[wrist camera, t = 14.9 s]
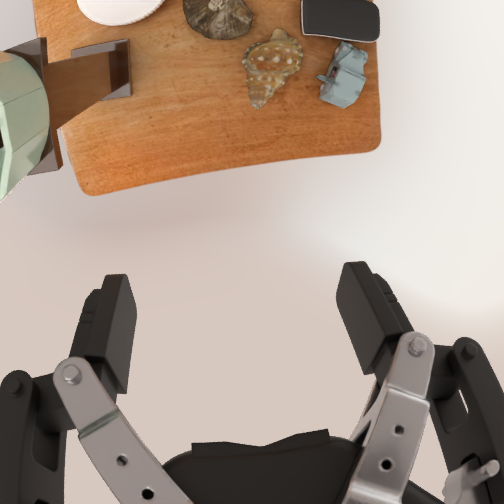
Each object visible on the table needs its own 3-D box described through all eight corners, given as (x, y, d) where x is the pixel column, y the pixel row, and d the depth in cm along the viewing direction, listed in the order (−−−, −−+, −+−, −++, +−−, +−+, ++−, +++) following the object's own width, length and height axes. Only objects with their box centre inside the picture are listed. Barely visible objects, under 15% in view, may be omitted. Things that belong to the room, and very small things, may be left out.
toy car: (361, 51, 41) (376, 54, 37) (339, 105, 46) (351, 113, 42) (325, 35, 39) (337, 35, 35) (303, 91, 44) (312, 97, 40)
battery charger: (298, 37, 39) (371, 45, 39) (303, 34, 36) (381, 44, 36) (297, -4, 35) (371, 6, 36) (302, -10, 32) (380, 2, 32)
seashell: (293, 81, 46) (290, 118, 41) (243, 70, 45) (232, 106, 41) (308, 33, 38) (308, 64, 33) (252, 21, 37) (241, 50, 32)
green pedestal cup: (68, 46, 34) (-103, 96, 8) (134, 32, 36) (-3, 36, 9) (74, 109, 41) (-68, 228, 14) (137, 99, 42) (30, 213, 15)
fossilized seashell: (268, 18, 35) (223, -29, 31) (247, 24, 31) (197, -28, 27) (231, 47, 40) (190, 2, 36) (208, 57, 36) (163, 8, 32)
